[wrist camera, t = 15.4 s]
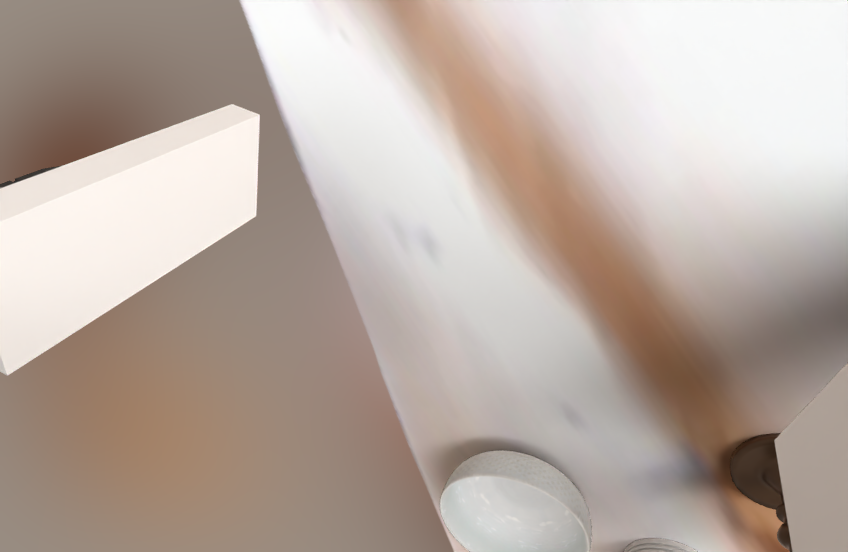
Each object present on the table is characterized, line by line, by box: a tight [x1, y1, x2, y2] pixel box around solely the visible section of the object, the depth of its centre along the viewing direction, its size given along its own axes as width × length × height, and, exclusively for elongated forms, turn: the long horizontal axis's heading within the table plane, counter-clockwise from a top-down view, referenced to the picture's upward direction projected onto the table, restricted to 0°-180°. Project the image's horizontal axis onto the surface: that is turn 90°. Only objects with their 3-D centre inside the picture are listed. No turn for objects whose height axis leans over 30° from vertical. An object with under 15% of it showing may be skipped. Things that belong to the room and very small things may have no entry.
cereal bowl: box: [440, 450, 592, 552], centre depth 64 cm, size 17×17×7 cm
